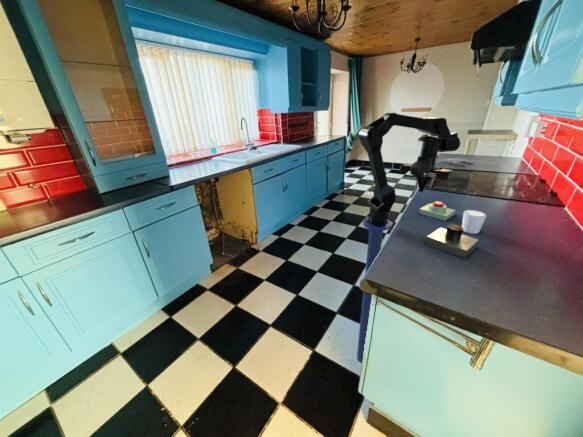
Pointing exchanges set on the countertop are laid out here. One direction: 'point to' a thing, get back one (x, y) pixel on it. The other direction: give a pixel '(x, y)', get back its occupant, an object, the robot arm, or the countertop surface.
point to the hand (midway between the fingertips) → (421, 191)
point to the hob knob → (454, 232)
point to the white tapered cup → (473, 221)
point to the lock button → (438, 204)
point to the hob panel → (452, 243)
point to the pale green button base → (437, 212)
